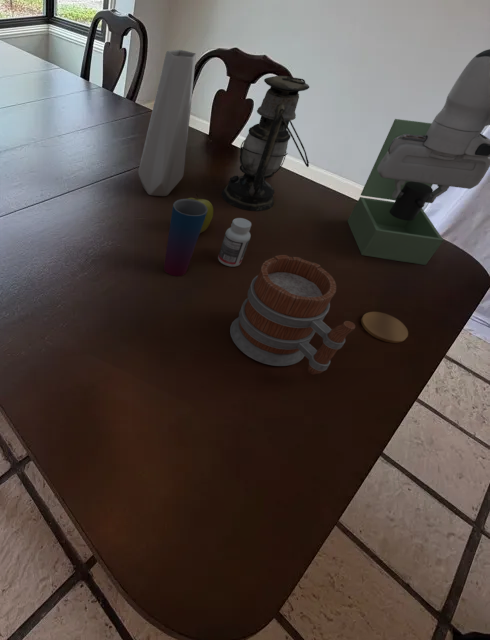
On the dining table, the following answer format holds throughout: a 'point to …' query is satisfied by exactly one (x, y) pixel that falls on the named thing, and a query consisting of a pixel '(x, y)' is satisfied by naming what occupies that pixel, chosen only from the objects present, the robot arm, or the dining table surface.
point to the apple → (208, 215)
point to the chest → (392, 233)
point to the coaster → (384, 327)
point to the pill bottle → (235, 242)
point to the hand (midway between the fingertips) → (411, 199)
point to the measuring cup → (411, 201)
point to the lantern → (266, 146)
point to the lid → (375, 182)
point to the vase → (168, 125)
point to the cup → (183, 234)
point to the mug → (289, 315)
